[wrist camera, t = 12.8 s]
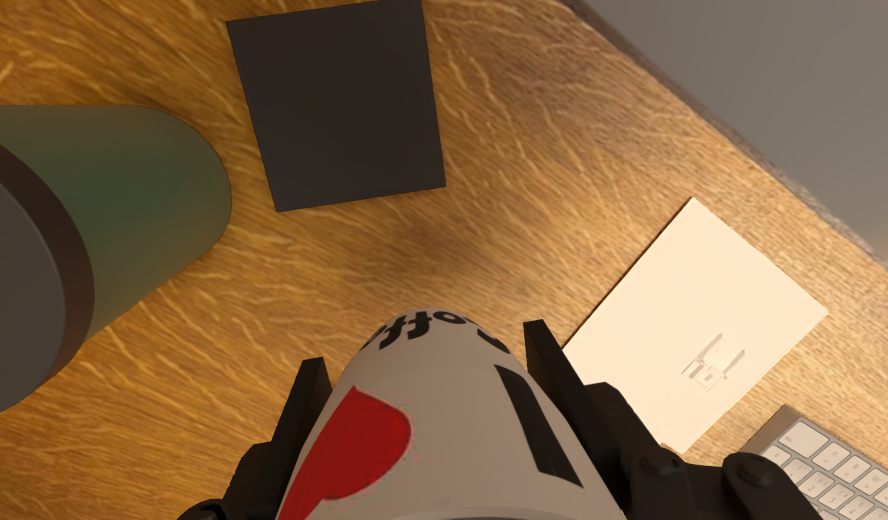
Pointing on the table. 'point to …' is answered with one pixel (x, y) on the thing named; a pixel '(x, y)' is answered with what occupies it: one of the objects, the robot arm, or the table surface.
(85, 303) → the travel mug
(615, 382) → the paper
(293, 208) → the coaster
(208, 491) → the table surface
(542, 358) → the robot arm
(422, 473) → the cup
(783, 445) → the computer keyboard
